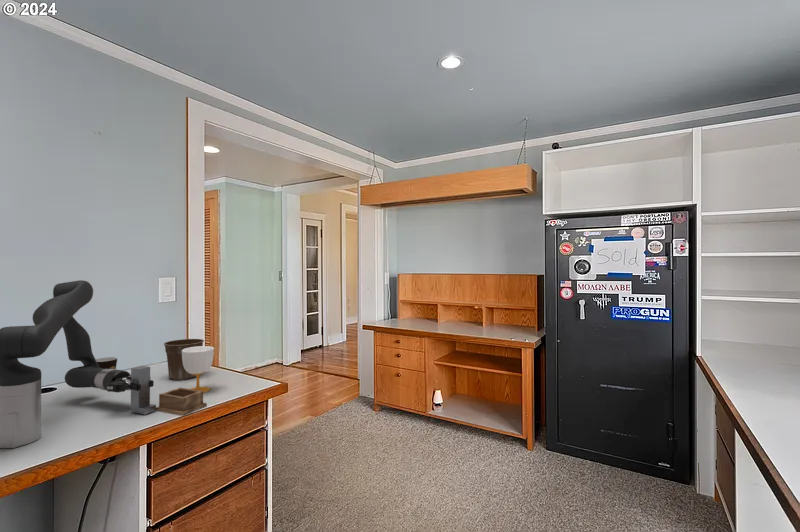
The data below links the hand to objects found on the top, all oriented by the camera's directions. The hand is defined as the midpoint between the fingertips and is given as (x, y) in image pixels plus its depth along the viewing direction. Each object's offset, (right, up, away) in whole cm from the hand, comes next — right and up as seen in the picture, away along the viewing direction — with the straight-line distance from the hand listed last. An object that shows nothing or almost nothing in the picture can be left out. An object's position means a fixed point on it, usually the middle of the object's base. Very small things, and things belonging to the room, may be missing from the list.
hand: (146, 385), depth 136 cm
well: (+10, -9, +4) cm, 14 cm away
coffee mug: (-41, -9, +34) cm, 54 cm away
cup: (+6, -10, +24) cm, 26 cm away
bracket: (-1, -9, 0) cm, 9 cm away
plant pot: (-11, -10, +44) cm, 47 cm away
